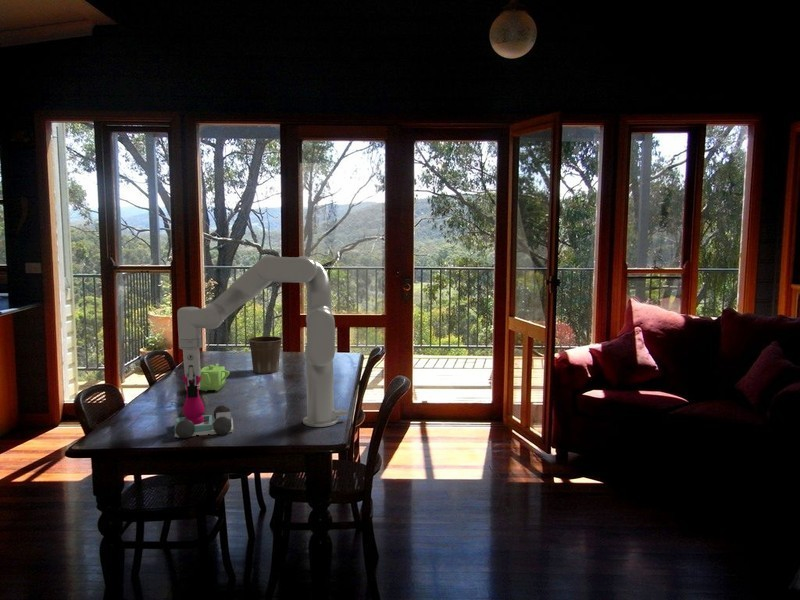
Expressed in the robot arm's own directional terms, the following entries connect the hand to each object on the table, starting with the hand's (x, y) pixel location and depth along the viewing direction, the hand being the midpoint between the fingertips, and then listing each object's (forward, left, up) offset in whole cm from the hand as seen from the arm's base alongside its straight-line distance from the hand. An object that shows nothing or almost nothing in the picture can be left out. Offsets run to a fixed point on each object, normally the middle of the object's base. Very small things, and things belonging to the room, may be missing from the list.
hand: (193, 394), depth 217 cm
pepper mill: (0, 0, -10) cm, 10 cm away
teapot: (-5, -56, -13) cm, 58 cm away
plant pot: (-30, -84, -13) cm, 90 cm away
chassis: (-3, 0, -13) cm, 13 cm away
